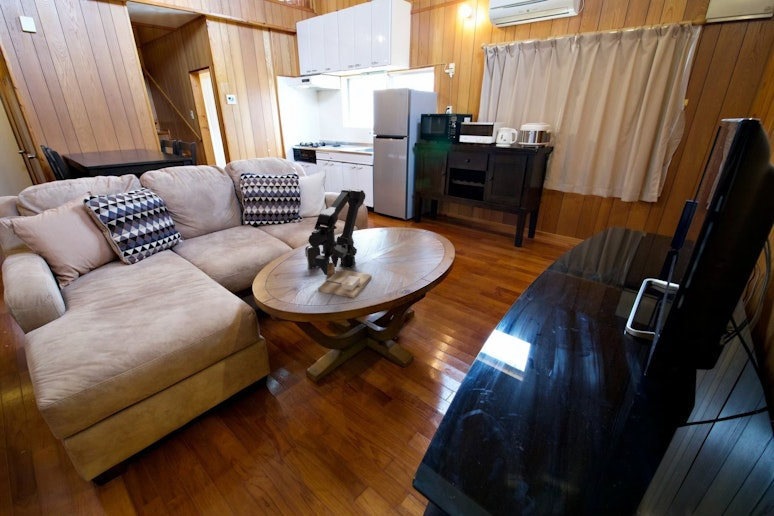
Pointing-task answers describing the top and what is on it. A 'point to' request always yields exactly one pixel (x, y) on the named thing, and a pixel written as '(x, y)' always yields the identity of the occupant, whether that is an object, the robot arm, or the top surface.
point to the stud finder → (350, 282)
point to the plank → (335, 283)
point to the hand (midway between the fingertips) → (330, 270)
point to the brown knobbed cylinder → (330, 270)
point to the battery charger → (312, 255)
